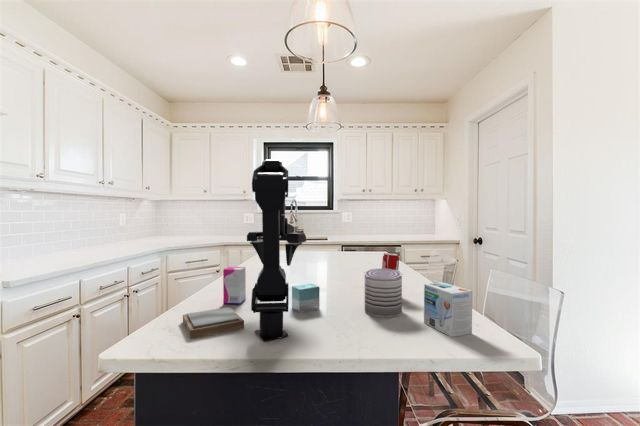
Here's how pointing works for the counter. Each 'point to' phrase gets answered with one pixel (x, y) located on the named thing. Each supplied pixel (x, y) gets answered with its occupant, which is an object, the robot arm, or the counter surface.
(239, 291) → the supplement box
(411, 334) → the counter surface
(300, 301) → the teal and white box
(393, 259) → the beverage can
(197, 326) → the square wooden frame
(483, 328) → the counter surface
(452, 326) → the light bulb box
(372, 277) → the can
